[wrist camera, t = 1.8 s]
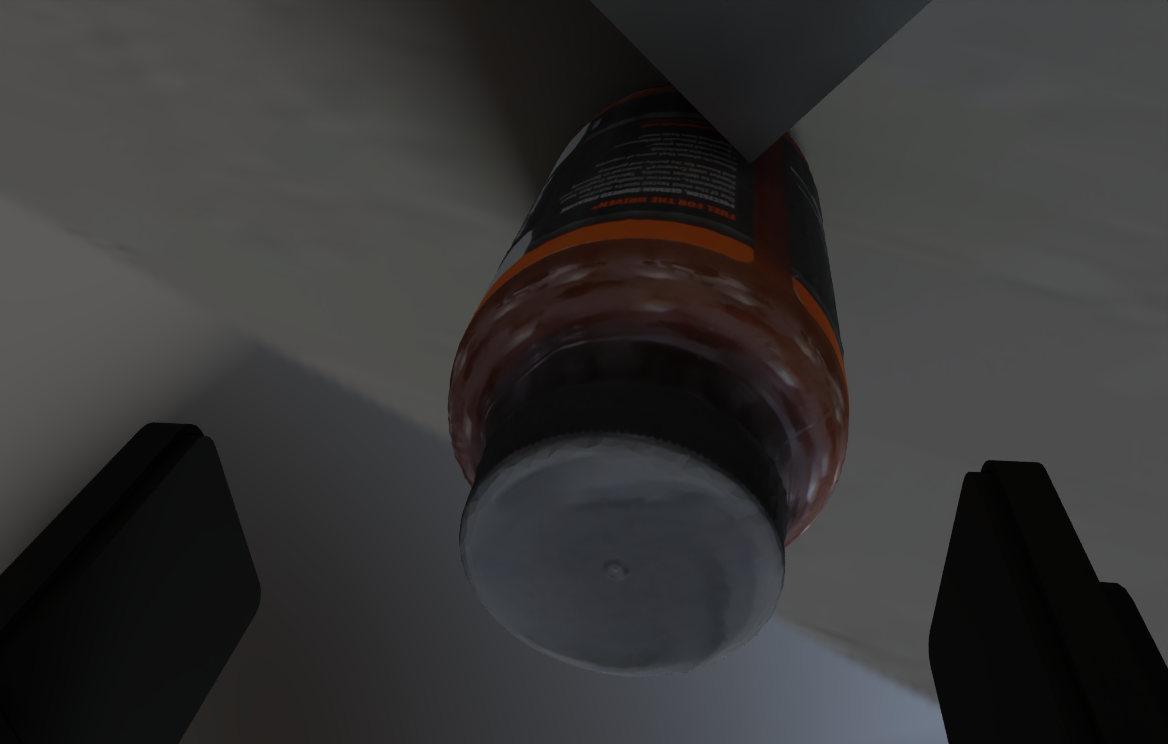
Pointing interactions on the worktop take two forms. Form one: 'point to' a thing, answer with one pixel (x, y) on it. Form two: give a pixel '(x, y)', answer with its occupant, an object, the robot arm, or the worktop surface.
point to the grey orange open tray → (757, 54)
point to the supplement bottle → (650, 395)
